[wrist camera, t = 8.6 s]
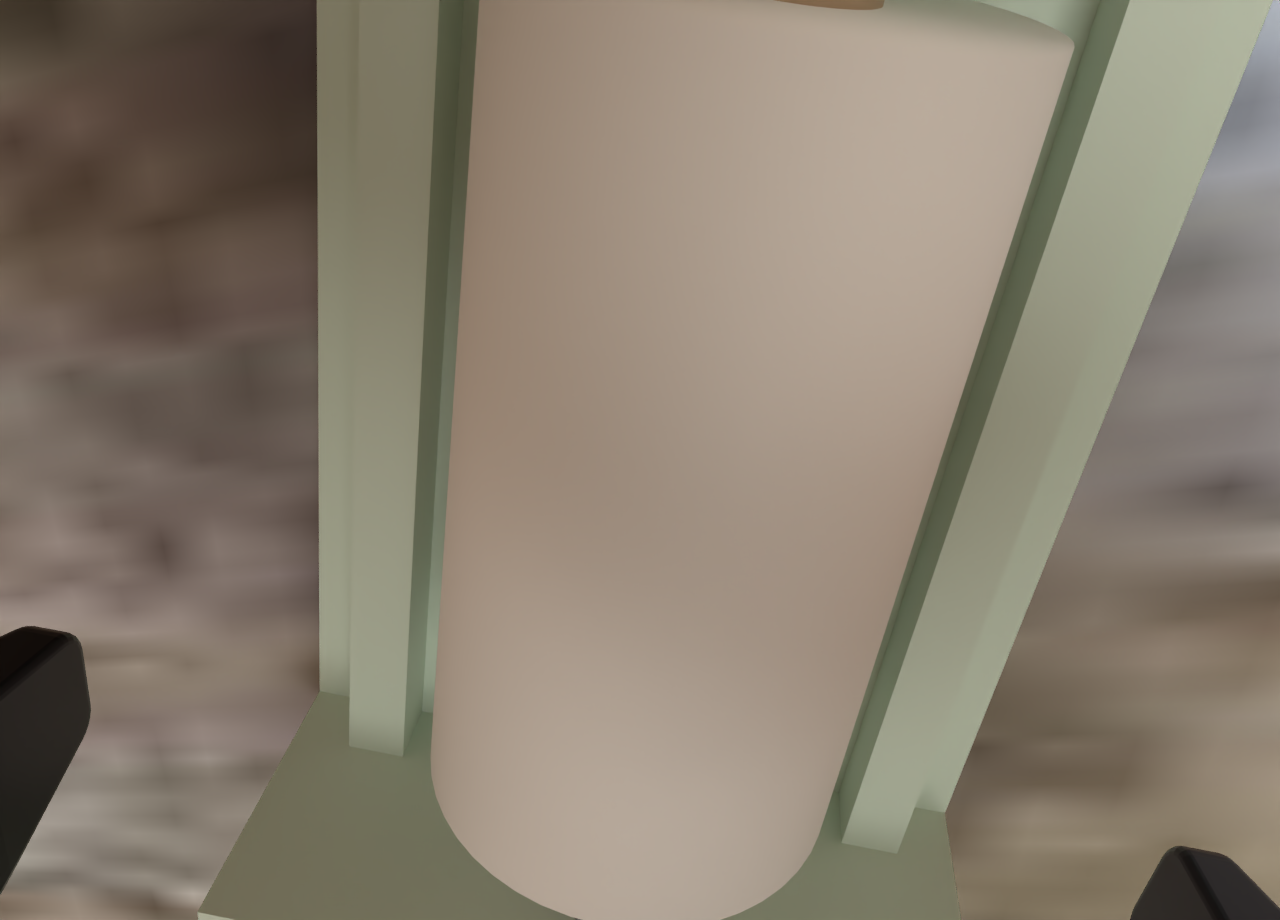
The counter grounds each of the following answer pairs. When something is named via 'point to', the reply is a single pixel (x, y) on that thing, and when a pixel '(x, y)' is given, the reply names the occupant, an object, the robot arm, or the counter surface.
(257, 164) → the counter surface
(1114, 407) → the counter surface
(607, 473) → the paper roll
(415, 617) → the holder
